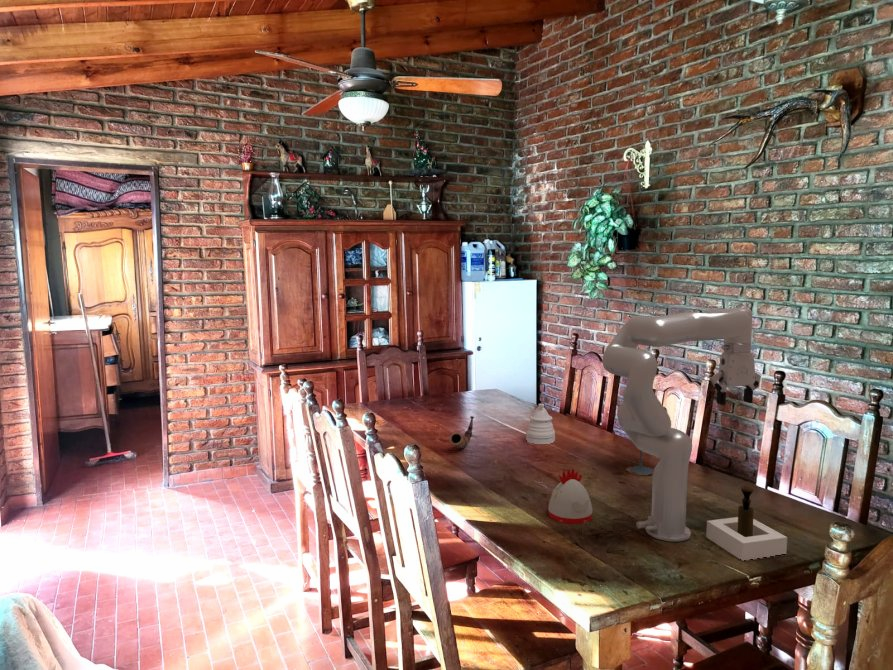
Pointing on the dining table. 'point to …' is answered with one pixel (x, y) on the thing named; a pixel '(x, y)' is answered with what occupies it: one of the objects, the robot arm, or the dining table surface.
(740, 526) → the pepper mill
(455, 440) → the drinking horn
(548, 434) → the honey pot
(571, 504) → the kitchen timer
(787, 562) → the dining table surface
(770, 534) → the socket
